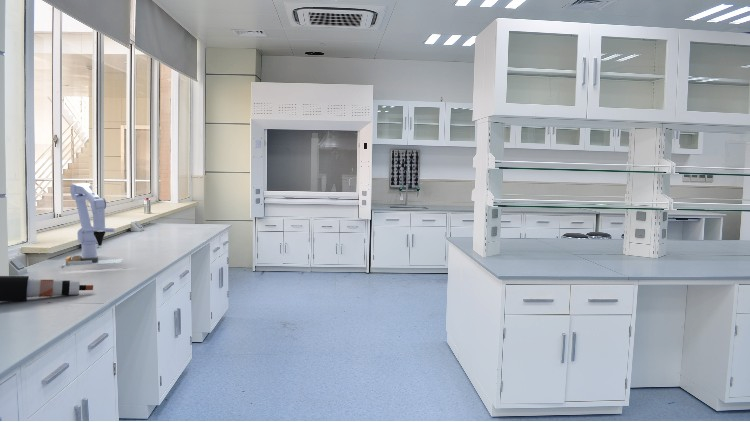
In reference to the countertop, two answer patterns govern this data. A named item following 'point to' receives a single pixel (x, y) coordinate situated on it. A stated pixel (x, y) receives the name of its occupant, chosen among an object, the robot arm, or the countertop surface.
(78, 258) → the slider block
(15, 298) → the cable
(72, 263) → the channel
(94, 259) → the bar
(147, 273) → the countertop surface
